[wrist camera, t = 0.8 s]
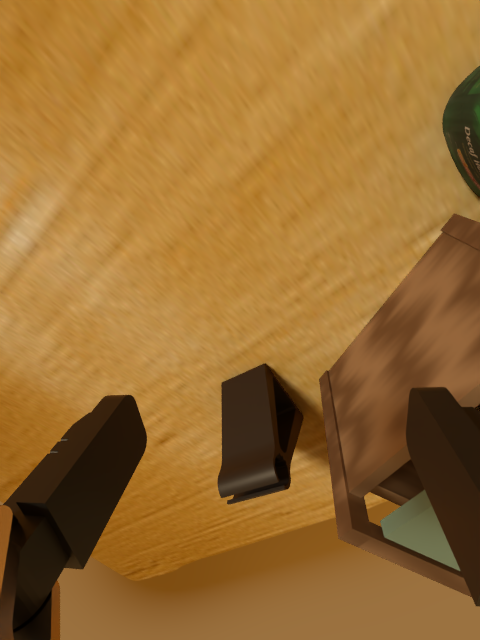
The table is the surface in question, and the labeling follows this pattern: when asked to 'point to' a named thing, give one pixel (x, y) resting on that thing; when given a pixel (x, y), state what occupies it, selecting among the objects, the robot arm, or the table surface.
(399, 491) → the wooden crate
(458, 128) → the coffee jar
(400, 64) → the table surface
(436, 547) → the trapdoor
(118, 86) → the table surface
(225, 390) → the phone stand
